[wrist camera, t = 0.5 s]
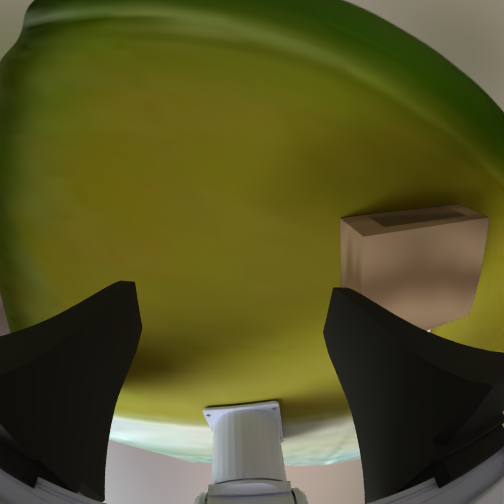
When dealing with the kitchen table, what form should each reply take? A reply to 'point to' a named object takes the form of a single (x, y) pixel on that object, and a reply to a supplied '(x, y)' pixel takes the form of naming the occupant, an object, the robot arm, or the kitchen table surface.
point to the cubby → (416, 261)
